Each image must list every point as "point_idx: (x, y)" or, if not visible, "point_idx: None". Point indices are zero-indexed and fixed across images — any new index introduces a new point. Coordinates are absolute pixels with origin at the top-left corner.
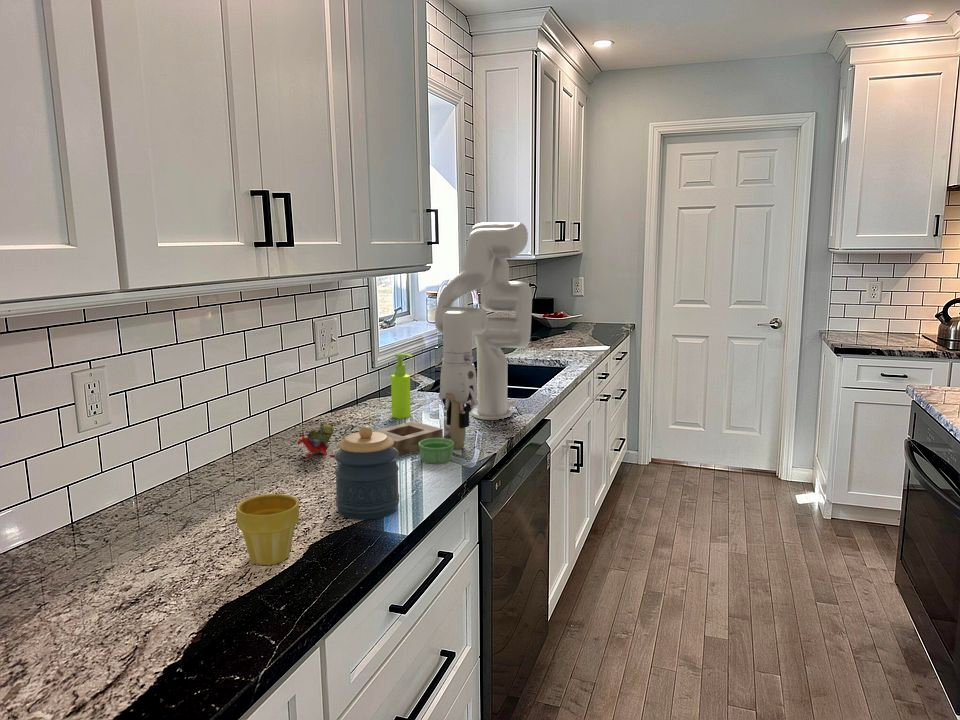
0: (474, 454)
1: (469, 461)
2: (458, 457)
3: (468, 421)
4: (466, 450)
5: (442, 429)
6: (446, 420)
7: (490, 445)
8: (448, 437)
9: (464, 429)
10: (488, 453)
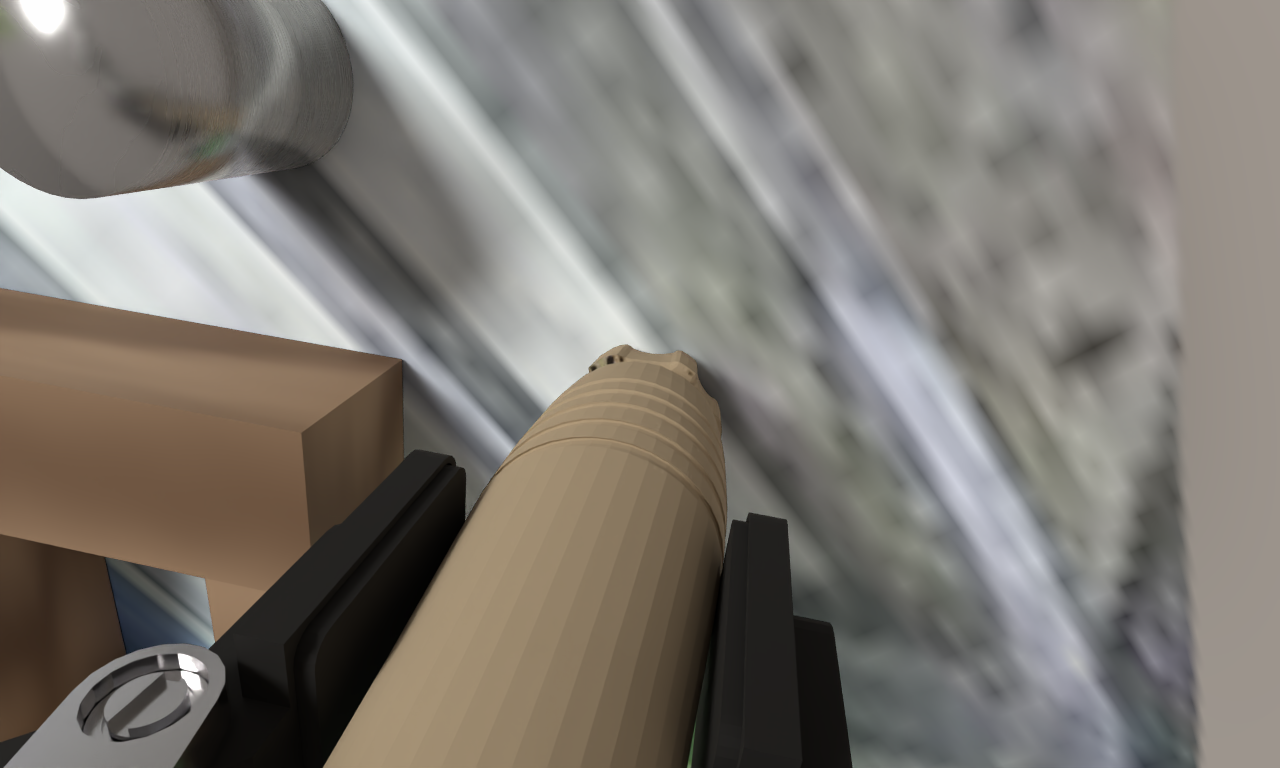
0: (953, 499)
1: (1017, 688)
2: (848, 643)
3: (834, 663)
4: (790, 431)
5: (305, 429)
6: (58, 171)
7: (965, 75)
8: (300, 163)
9: (723, 527)
10: (1100, 390)
